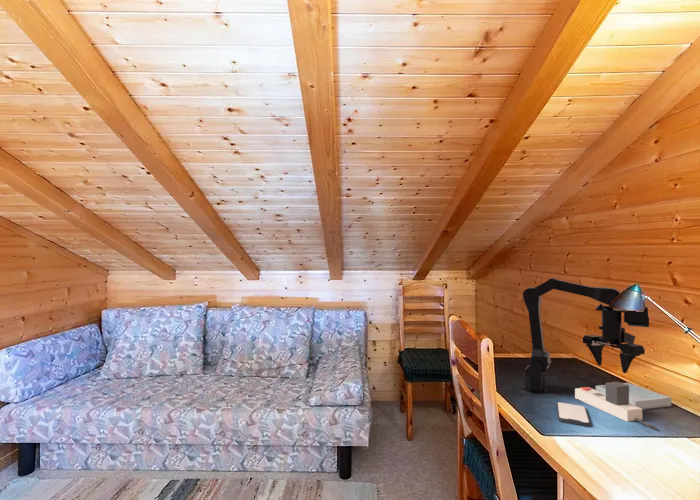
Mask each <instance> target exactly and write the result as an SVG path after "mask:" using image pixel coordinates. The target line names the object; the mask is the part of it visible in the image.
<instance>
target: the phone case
mask: <svg viewBox="0 0 700 500" xmlns="http://www.w3.org/2000/svg"><path fill="white" fill-rule="evenodd" d="M556 415H557V421H558V422H560V423H563V424H569V425H574V426H580V427H585V428H590V427H591V420H590V418H589V414H588V410H587V407H585V406H583V405H579V404H573V403H567V402H559V401H558V402H556Z"/></svg>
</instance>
